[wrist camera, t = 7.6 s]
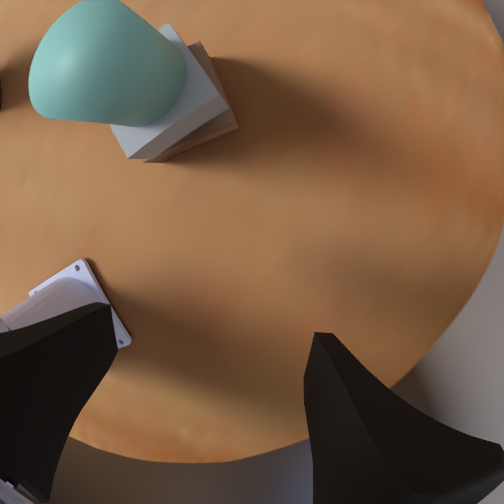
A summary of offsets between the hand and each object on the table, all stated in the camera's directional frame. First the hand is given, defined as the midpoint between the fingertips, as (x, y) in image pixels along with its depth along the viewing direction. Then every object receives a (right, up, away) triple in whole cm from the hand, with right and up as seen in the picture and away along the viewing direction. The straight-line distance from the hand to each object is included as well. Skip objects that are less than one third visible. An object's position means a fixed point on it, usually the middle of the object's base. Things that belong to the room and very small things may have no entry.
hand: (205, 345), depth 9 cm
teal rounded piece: (-4, +11, +1) cm, 11 cm away
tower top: (-3, +12, +4) cm, 13 cm away
